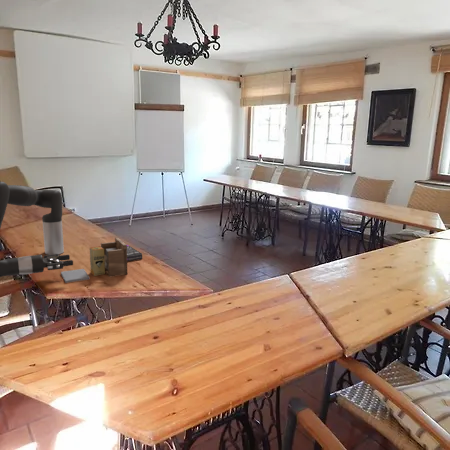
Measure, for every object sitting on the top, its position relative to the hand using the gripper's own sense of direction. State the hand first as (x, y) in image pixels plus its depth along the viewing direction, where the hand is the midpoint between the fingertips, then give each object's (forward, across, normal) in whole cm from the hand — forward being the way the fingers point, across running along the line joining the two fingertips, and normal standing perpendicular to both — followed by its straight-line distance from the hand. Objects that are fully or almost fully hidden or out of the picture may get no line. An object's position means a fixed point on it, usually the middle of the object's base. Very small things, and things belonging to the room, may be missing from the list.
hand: (71, 259), depth 176 cm
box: (+29, +20, +8) cm, 36 cm away
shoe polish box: (+11, 0, +8) cm, 14 cm away
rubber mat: (+1, 0, +8) cm, 8 cm away
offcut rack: (+19, 0, +8) cm, 21 cm away
